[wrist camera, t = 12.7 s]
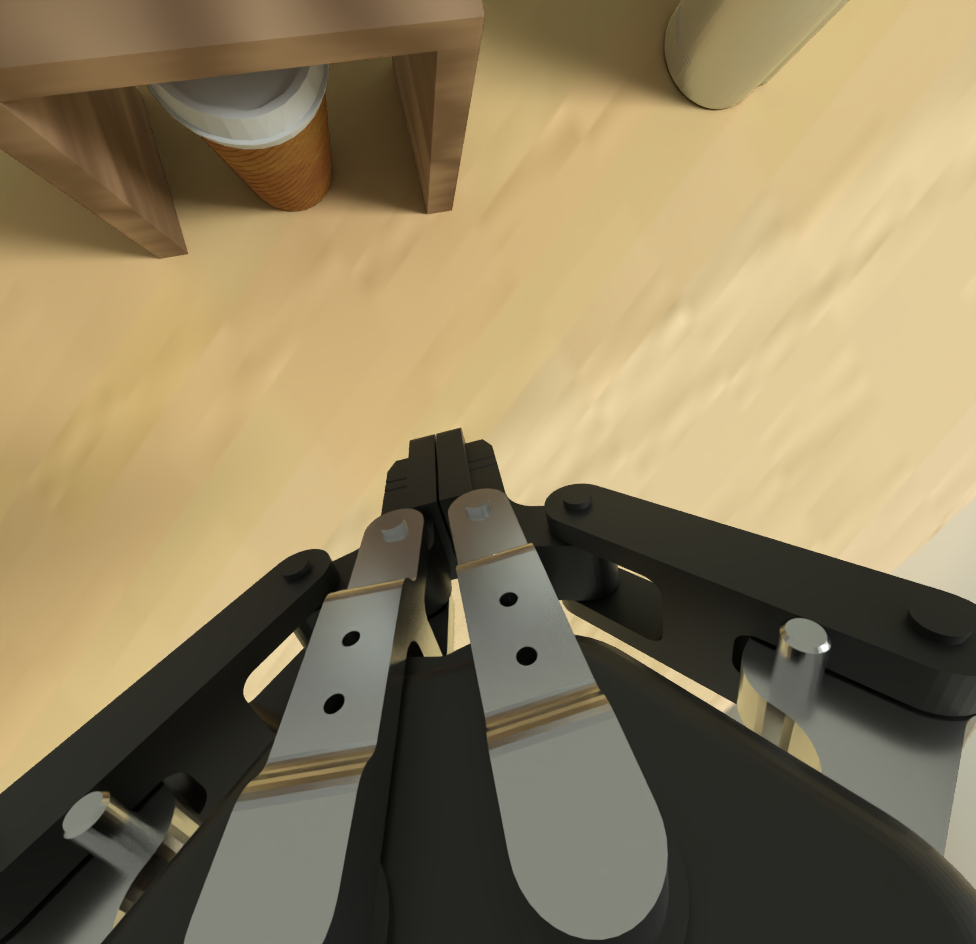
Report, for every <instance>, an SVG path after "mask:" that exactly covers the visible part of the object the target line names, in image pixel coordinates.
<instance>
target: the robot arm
mask: <svg viewBox="0 0 976 944" xmlns="http://www.w3.org/2000/svg"><path fill="white" fill-rule="evenodd" d="M848 1H849V0H681V1H680V3H679V4H678V6H677V8H676V9H675V11H674V13H673V15H672V16H671V18H670V20H669V23H668V26H667V29H666V33H665V43H664V47H665V58H666V62H667V66H668V70H669V72H670V74H671V76H672V78H673V81H674V82H675V84H676V85H677V86H678V88H679V89H680V91H681V92H682V93H683V94H685V95H686V96H687V97H688V98H689V99H690V100H692V101H693V102H695V103H697V104H698V105H701V106H704V107H706V108H711V109H723V108H729V107H732V106H734V105H736V104H738V103H740V102H741V101H742V100H744V99H745V98H746V97H747V96H748V95H749V94H750V93H751V92H752V91H753V90H754V89H755V88H756V87H757V86H758V85H761V84H766V83H767V82H768V81H769V80H770V79H771V78H772V77H773V76H774V75H775V74H776V73H777V72H778V71H779V70H780V69H781V68H782V67H783V66H784V65H785V64H786V63H787V62H788V61H789V60H790V59H791V58H792V57H793V56H794V55H795V54H796V53H797V52H798V51H799V50H800V49H801V48H802V47H803V46H804V45H805V44H806V43H807V42H808V41H809V40H810V39H811V38H812V37H813V36H814V35H815V34H816V33H817V32H818V31H819V30H820V29H821V28H822V27H823V26H824V25H825V24H826V23H827V22H828V21H829V20H830V19H831V18H832V17H833V16H834V15H835V14H836V13H837V12H838V11H839V10H840V9H841V8H842V7H843V6H844V5H845V4H846V3H847V2H848ZM618 565H619V566H622V567H624V568H626V569H629V570H631V571H633V572H636V573H638V574H640V575H643V576H645V577H646V578H648V579H649V580H651V581H652V582H650V581H648V580H646V579H643V578H641V577H639V576H637V575H634V574H632V573H630V572H627V571H625V570H623V569H620V568H618ZM457 578H458V582H459V587H460V592H461V597H462V602H463V608H464V613H465V618H466V623H467V628H468V633H469V638H470V644H468V645H466V646H464V647H462V648H460V649H458V650H456V651H454V618H455V604H454V600H453V597H452V595H451V591H452V587H451V580H453V579H457ZM559 600H562V602H563V604H564V606H565V607H566V609H567V610H568V611H570V612H571V613H573V614H574V615H576V616H578V617H580V618H581V619H583V620H585V621H587V622H589V623H590V624H592V625H594V626H596V627H598V628H600V629H601V630H603V631H605V632H607V633H609V634H610V635H612V636H614V637H616V638H618V639H619V640H621V641H623V642H625V643H627V644H628V645H630V646H632V647H634V648H636V649H638V650H639V651H641V652H643V653H645V654H647V655H648V656H650V657H652V658H654V659H656V660H657V661H659V662H661V663H663V664H665V665H666V666H668V667H670V668H672V669H674V670H676V671H677V672H679V673H681V674H683V675H685V676H686V677H688V678H690V679H692V680H694V681H695V682H697V683H699V684H701V685H703V686H704V687H706V688H708V689H710V690H712V691H714V692H715V693H717V694H719V695H721V696H723V697H724V698H726V699H728V700H730V701H732V702H733V703H735V704H737V707H738V711H739V714H740V716H741V719H742V721H743V722H744V724H745V726H746V727H745V726H744V725H742V724H740V723H739V722H737V721H736V720H734V719H732V718H730V717H729V716H727V715H726V714H724V713H723V712H721V711H719V710H718V709H716V708H714V707H713V706H711V705H709V704H708V703H706V702H705V701H703V700H701V699H700V698H698V697H696V696H695V695H693V694H691V693H690V692H688V691H687V690H685V689H683V688H682V687H680V686H678V685H677V684H675V683H674V682H672V681H670V680H669V679H667V678H665V677H664V676H662V675H660V674H659V673H657V672H656V671H654V670H652V669H651V668H649V667H647V666H646V665H644V664H642V663H641V662H639V661H638V660H636V659H634V658H633V657H631V656H629V655H628V654H626V653H624V652H623V651H621V650H619V649H617V648H616V647H613V646H611V645H609V644H607V643H604V642H602V641H599V640H596V639H593V638H589V637H584V636H579V635H574V633H573V631H572V629H571V627H570V624H569V622H568V620H567V618H566V616H565V613H564V611H563V609H562V607H561V605H560V602H559ZM293 632H294V633H295V635H296V637H297V638H298V640H299V641H300V643H301V644H302V646H303V647H304V648H303V649H302V650H301V651H300V652H299V654H298V655H297V656H296V657H295V658H294V659H293V660H292V661H291V662H290V663H289V664H288V665H287V666H286V667H285V668H284V669H283V670H282V671H281V672H280V673H279V674H278V675H277V676H276V677H275V678H274V679H273V680H272V681H271V682H270V683H269V684H268V685H267V686H266V687H265V688H264V689H263V690H262V692H261V693H260V694H259V695H258V696H257V697H256V698H255V699H253V700H252V701H251V702H249V703H248V702H247V701H246V700H245V698H244V695H243V689H244V685H245V682H246V680H247V678H248V677H249V675H250V674H251V673H252V672H253V671H254V670H255V669H256V668H257V667H258V666H259V665H260V664H261V663H262V662H263V661H264V660H265V659H266V658H267V657H268V656H269V655H270V654H271V653H272V652H273V651H274V650H275V649H276V648H277V647H278V646H279V645H280V644H281V643H282V642H283V641H284V640H285V639H286V638H287V637H288V636H289V635H291V634H292V633H293ZM975 728H976V604H974V603H972V602H970V601H969V600H966V599H964V598H961V597H959V596H957V595H954V594H951V593H948V592H945V591H942V590H939V589H936V588H932V587H929V586H925V585H922V584H919V583H915V582H912V581H909V580H906V579H903V578H899V577H896V576H893V575H889V574H886V573H883V572H880V571H876V570H873V569H870V568H866V567H863V566H860V565H856V564H853V563H850V562H847V561H843V560H840V559H837V558H833V557H830V556H827V555H824V554H820V553H817V552H814V551H810V550H807V549H804V548H800V547H797V546H794V545H791V544H787V543H784V542H781V541H777V540H774V539H771V538H767V537H764V536H761V535H758V534H754V533H751V532H748V531H744V530H741V529H738V528H734V527H731V526H728V525H725V524H721V523H718V522H715V521H711V520H708V519H705V518H702V517H698V516H695V515H692V514H688V513H685V512H682V511H678V510H675V509H672V508H669V507H665V506H662V505H659V504H655V503H652V502H649V501H645V500H642V499H639V498H636V497H632V496H629V495H626V494H622V493H619V492H616V491H613V490H609V489H606V488H603V487H599V486H596V485H592V484H573V485H568V486H564V487H562V488H559V489H558V490H556V491H554V492H553V493H551V494H550V495H549V496H548V498H547V499H546V501H545V506H524V505H520V504H517V503H515V502H513V501H511V500H510V499H509V498H508V497H507V495H506V493H505V490H504V486H503V483H502V479H501V476H500V472H499V469H498V465H497V462H496V458H495V454H494V451H493V447H492V445H490V444H489V443H487V442H486V441H484V440H483V439H482V440H478V441H474V442H470V443H465V439H464V436H463V432H462V429H461V428H457V429H453V430H449V431H445V432H441V433H438V434H436V436H435V434H434V435H430V436H426V437H422V438H418V439H414V440H410V444H409V458H406V459H402V460H399V461H396V462H395V463H394V464H393V466H392V467H391V468H390V470H389V471H388V473H387V480H386V486H385V493H384V500H383V506H382V513H381V516H380V517H378V518H377V519H375V520H374V521H373V522H372V523H371V524H370V525H369V526H368V527H367V529H366V530H365V533H364V536H363V539H362V542H361V546H360V548H359V549H357V550H356V551H354V552H352V553H350V554H347V555H345V556H343V557H341V558H339V559H337V560H335V561H332V560H331V558H330V556H329V555H328V553H327V552H326V551H323V550H320V549H310V550H305V551H302V552H299V553H296V554H294V555H292V556H290V557H288V558H286V559H285V560H283V561H282V562H281V563H279V564H278V565H277V566H276V567H274V568H273V569H272V570H271V571H269V572H268V573H267V574H266V575H265V576H263V577H262V578H261V579H260V580H259V581H257V582H256V583H255V584H254V585H253V586H251V587H250V588H249V589H248V590H247V591H245V592H244V593H243V594H242V595H240V596H239V597H238V598H237V599H236V600H234V601H233V602H232V603H231V604H230V605H228V606H227V607H226V608H225V609H224V610H222V611H221V612H220V613H219V614H217V615H216V616H215V617H214V618H213V619H211V620H210V621H209V622H208V623H207V624H205V625H204V626H203V627H202V628H201V629H199V630H198V631H197V632H196V633H194V634H193V635H192V636H191V637H190V638H188V639H187V640H186V641H185V642H184V643H182V644H181V645H180V646H179V647H178V648H176V649H175V650H174V651H173V652H171V653H170V654H169V655H168V656H167V657H165V658H164V659H163V660H162V661H161V662H159V663H158V664H157V665H156V666H155V667H153V668H152V669H151V670H150V671H149V672H147V673H146V674H145V675H144V676H142V677H141V678H140V679H139V680H138V681H136V682H135V683H134V684H133V685H132V686H130V687H129V688H128V689H127V690H126V691H124V692H123V693H122V694H121V695H119V696H118V697H117V698H116V699H115V700H113V701H112V702H111V703H110V704H109V705H107V706H106V707H105V708H104V709H103V710H101V711H100V712H99V713H98V714H96V715H95V716H94V717H93V718H92V719H90V720H89V721H88V722H87V723H86V724H84V725H83V726H82V727H81V728H80V729H78V730H77V731H76V732H75V733H74V734H72V735H71V736H70V737H69V738H67V739H66V740H65V741H64V742H63V743H61V744H60V745H59V746H58V747H57V748H55V749H54V750H53V751H52V752H51V753H49V754H48V755H47V756H46V757H44V758H43V759H42V760H41V761H40V762H38V763H37V764H36V765H35V766H34V767H32V768H31V769H30V770H29V771H28V772H26V773H25V774H24V775H23V776H21V777H20V778H19V779H18V780H17V781H15V782H14V783H13V784H12V785H11V786H9V787H8V788H7V789H6V790H5V791H3V792H2V793H1V794H0V944H976V890H975V889H974V888H973V886H972V885H971V884H970V883H969V882H968V881H967V880H966V879H965V878H964V876H963V875H962V874H961V873H960V872H959V871H958V870H957V869H956V868H955V867H954V866H953V865H952V864H951V863H949V862H948V861H947V860H946V859H945V858H944V851H945V845H946V839H947V834H948V828H949V822H950V816H951V810H952V804H953V799H954V792H955V787H956V781H957V775H958V769H959V764H960V758H961V752H962V749H963V747H964V746H965V744H966V743H967V741H968V739H969V738H970V736H971V734H972V733H973V731H974V729H975Z"/></svg>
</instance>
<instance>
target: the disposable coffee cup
mask: <svg viewBox="0 0 976 944" xmlns="http://www.w3.org/2000/svg"><path fill="white" fill-rule="evenodd" d="M328 75H329V64H320V65H311V66H303V67H294V68H285V69H277V70H268V71H259V72H251V73H242V74H233V75H225V76H216V77H207V78H199V79H190V80H181V81H173V82H164V83H156V84H147V87H148V88H149V90H150V92H151V94H152V95H153V96H154V97H155V98H156V99H157V101H158V102H159V103H160V104H161V105H162V106H163V107H164V109H165V110H166V111H167V112H168V113H169V114H170V115H171V116H172V117H173V118H174V119H176V120H177V121H179V122H180V123H181V124H183V125H184V126H185V127H187V128H188V129H190V130H191V131H193V132H194V133H195V134H197V135H200V136H201V137H202V139H203V140H204V141H206V142H207V144H208V145H209V146H210V147H212V148H213V150H214V151H215V152H216V153H217V154H218V155H219V156H220V157H221V158H222V159H223V160H224V161H225V162H226V163H227V164H228V165H229V166H230V167H231V168H232V169H233V170H234V171H235V172H236V173H237V174H238V175H239V176H240V177H241V178H242V179H243V180H244V181H245V182H246V184H248V185H249V186H250V188H251V189H252V190H254V192H255V193H256V194H257V195H258V196H259V197H260V198H261V199H262V200H264V201H265V202H266V203H268V204H270V205H271V206H273V207H276V208H279V209H282V210H286V211H301V210H305V209H308V208H310V207H313V206H315V205H316V204H317V203H319V202H320V201H321V200H322V199H323V197H324V196H325V195H326V194H327V192H328V190H329V188H330V185H331V181H332V162H331V151H330V138H329V129H328V117H327V105H326V95H325V90H326V87H327V81H328Z"/></svg>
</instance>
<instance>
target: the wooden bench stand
mask: <svg viewBox="0 0 976 944" xmlns="http://www.w3.org/2000/svg"><path fill="white" fill-rule="evenodd" d="M484 20H485V14H484V9H483V4H482V0H0V149H2V150H3V151H4V152H6V153H7V154H9V155H10V156H12V157H13V158H15V159H16V160H17V161H19V162H20V163H22V164H23V165H25V166H26V167H28V168H29V169H30V170H32V171H33V172H35V173H36V174H38V175H39V176H41V177H42V178H44V179H45V180H46V181H48V182H49V183H51V184H52V185H54V186H55V187H57V188H58V189H59V190H61V191H62V192H64V193H65V194H67V195H68V196H70V197H71V198H72V199H74V200H75V201H77V202H78V203H80V204H81V205H83V206H84V207H85V208H87V209H88V210H90V211H91V212H93V213H94V214H96V215H97V216H99V217H100V218H101V219H103V220H104V221H106V222H107V223H109V224H110V225H112V226H113V227H114V228H116V229H117V230H119V231H120V232H122V233H123V234H125V235H126V236H127V237H129V238H130V239H132V240H133V241H135V242H136V243H138V244H139V245H141V246H142V247H143V248H145V249H146V250H148V251H149V252H151V253H152V254H154V255H155V256H156V257H158V258H166V257H172V256H178V255H184V254H188V252H187V248H186V245H185V241H184V238H183V235H182V231H181V228H180V224H179V221H178V218H177V214H176V211H175V208H174V204H173V201H172V197H171V194H170V191H169V187H168V184H167V181H166V177H165V174H164V170H163V167H162V164H161V160H160V157H159V154H158V150H157V147H156V143H155V140H154V137H153V133H152V130H151V127H150V123H149V120H148V116H147V113H146V110H145V106H144V103H143V100H142V96H141V94H140V93H139V91H138V90H137V89H136V88H135V87H134V86H138V85H147V84H156V83H164V82H173V81H181V80H190V79H199V78H207V77H216V76H225V75H233V74H242V73H251V72H259V71H268V70H277V69H285V68H294V67H303V66H311V65H320V64H329V63H337V62H346V61H355V60H363V59H372V58H381V57H389V56H392V61H393V68H394V73H395V77H396V81H397V86H398V90H399V94H400V98H401V103H402V107H403V111H404V116H405V120H406V124H407V128H408V133H409V137H410V141H411V146H412V150H413V154H414V158H415V163H416V167H417V171H418V176H419V180H420V184H421V188H422V193H423V197H424V201H425V206H426V210H427V214H431V213H437V212H443V211H449V210H452V207H453V201H454V196H455V190H456V184H457V178H458V172H459V166H460V160H461V155H462V149H463V143H464V137H465V131H466V125H467V119H468V113H469V108H470V102H471V96H472V90H473V84H474V78H475V72H476V67H477V61H478V55H479V49H480V43H481V37H482V31H483V25H484Z"/></svg>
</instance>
